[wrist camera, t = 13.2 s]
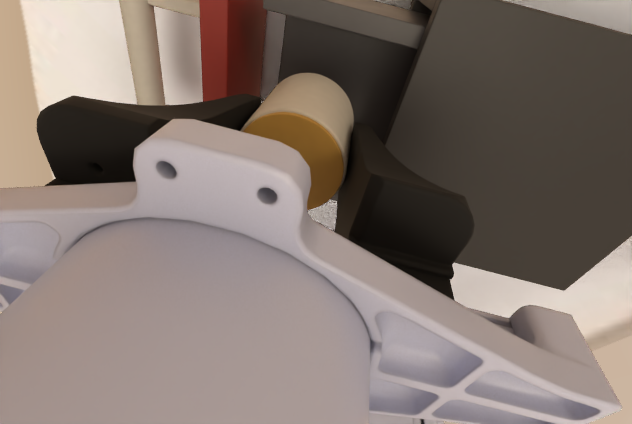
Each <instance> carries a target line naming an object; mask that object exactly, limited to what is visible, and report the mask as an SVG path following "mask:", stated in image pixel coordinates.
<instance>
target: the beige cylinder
mask: <svg viewBox="0 0 632 424" xmlns="http://www.w3.org/2000/svg"><path fill="white" fill-rule="evenodd" d="M353 123H354V115H353V109H352V105H351V103H350V100H349V98H348V97H347V95H346V93H345V92H344V91H343V89H342V88H341V87H340V86H339V85H338V84H336V83H335V82H334V81H332V80H331V79H329V78H327V77H325V76H322V75H319V74H315V73H299V74H295V75H292V76H289V77H288V78H286V79H284V80H283V81H281V82H280V83H279V84H278V85H277V86H276V87H275V88H274V90H273V91H272V92H271V93H270V94H269V96H268V97H267V98H266V99H265V100H264V102H263V103H262V104H261V105H260V106H259V108H258V109H257V110H256V111H255V112H254V114H253V115H252V116H251V117H250V119H249V120H248V121H247V122H246V123H245V125H244V126H243V127H242V129H241V132H245V133H249V134H253V135H257V136H260V137H264V138H268V139H272V140H276V141H280V142H281V143H283V144H285V145H287V146H289V147H291V148H293V149H295V150H297V151H298V152H299V153H300V154H301V156H302V157H303V159H304V160H305V161H306V163H307V164H308V165H309V167H310V175H311V187H310V192H309V196H308V200H307V210H309V209H313V208H316V207H318V206H321V205H322V204H324V203H326V202H327V201H328V200H330V199H331V198H332V197H333V196H334V195H335V194H336V193H337V192H338V191H339V189H340V188H341V186H342V184H343V182H344V180H345V176H346V172H347V165H348V158H349V150H350V142H351V135H352V130H353Z"/></svg>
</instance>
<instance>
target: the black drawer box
mask: <svg viewBox="0 0 632 424" xmlns="http://www.w3.org/2000/svg"><path fill="white" fill-rule="evenodd" d="M410 10H411V11H415V12H419V13H423V14H426V15H430V19H429V21H428V24H427V27H426V29H425V32H424V35H423V37H422V40H421V42H420V45H419V48H418V50H417V53H416V56H415V58H414V61H413V64H412V66H411V69H410V72H409V74H408V77H407V79H406V82H405V85H404V87H403V90H402V93H401V95H400V98H399V101H398V103H397V106H396V109H395V111H394V114H393V116H392V119H391V122H390V124H389V127H388V130H387V132H386V135H385V138H384V140H383V144H384V146H385V147H386V148H387V149H388V150H389V151H390V152H391V153H392V155H393V156H394V157H395V158H397V159H398V160H399V161H400V162H401V163H402V164H403V165H405V166H406V167H407V168H409V169H410V170H411V171H413V172H414V173H416V174H417V175H419V176H420V177H422V178H424V179H426V180H427V181H429V182H431V183H433V184H435V185H437V186H439V187H442V188H444V189H447V190H449V191H452V192H454V193H457V194H460V195H462V196H465V198H466V200H467V203H468V205H469V208H470V210H471V213H472V215H473V220H474V224H475V226H474V232H473V236H472V237H471V239H470V241H469V243H468V244H467V246H466V247H465V248H464V250H463V251H462V252H461V253H460V255H459V256H458V257H457V259H456V260H455V261H454V262H455V263H459V264H462V265H466V266H470V267H474V268H478V269H482V270H486V271H490V272H494V273H497V274H501V275H505V276H509V277H513V278H517V279H521V280H525V281H529V282H533V283H536V284H540V285H544V286H548V287H552V288H556V289H560V290H566V289H567V288H568V287H569V286H570V285H572V284H573V283H574V282H575V281H577V280H578V279H579V278H580V277H582V276H583V275H584V274H585V273H586V272H588V271H589V270H590V269H591V268H593V267H594V266H595V265H596V264H597V263H599V262H600V261H601V260H602V259H604V258H605V257H606V256H607V255H609V254H610V253H611V252H612V251H613V250H615V249H616V248H617V247H618V246H620V245H621V244H622V243H623V242H625V241H626V240H627V239H628V238H629V237H631V236H632V35H631V34H627V33H623V32H619V31H616V30H612V29H608V28H604V27H601V26H597V25H593V24H589V23H585V22H582V21H578V20H574V19H570V18H567V17H563V16H559V15H555V14H552V13H548V12H544V11H540V10H537V9H533V8H529V7H525V6H521V5H518V4H514V3H510V2H506V1H503V0H413V2H412V5H411V8H410Z"/></svg>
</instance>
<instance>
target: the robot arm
mask: <svg viewBox="0 0 632 424" xmlns="http://www.w3.org/2000/svg"><path fill="white" fill-rule="evenodd" d="M260 105H261V97H257V96H253V95H250V94H238V95H233V96H229V97H224V98H220V99H215V100H210V101H205V102H199V103H193V104H184V105H134V104H124V103H115V102H108V101H102V100H96V99H90V98H84V97H79V96H71V97H69V98H66V99H64V100H62V101H59V102H57V103H55V104H52V105H50V106H48V107H47V108H45V109H44V110H42V111H41V112H40V114H39V116H38V118H37V133H38V136H39V140H40V143H41V145H42V148H43V150H44V152H45V154H46V157H47V159H48V162H49V164H50V167H51V169H52V171H53V174H54V176H55V178H56V179H54V180H53V181H51V182H50V183H49V184H47V185H45V186H38V187H17V188H0V311H1V312H2V313H1V314H0V424H444V421H445V422H454V423H461V424H589V423H591V422H594V421H596V420H599V419H601V418H604V417H606V416H609V415H611V414H614V413H616V412H619V411H621V409H622V405H621V404H620V402H619V400H618V398H617V396H616V395H615V393H614V391H613V389H612V387H611V386H610V384H609V382H608V380H607V378H606V377H605V375H604V373H603V371H602V369H601V368H600V366H599V364H598V362H597V360H596V359H595V357H594V355H593V353H592V351H591V350H590V348H589V346H588V344H587V343H586V341H585V339H584V337H583V335H582V334H581V332H580V330H579V328H578V326H577V325H576V323H575V321H574V319H573V317H572V316H571V315H570V314H567V313H563V312H559V311H555V310H551V309H547V308H543V307H539V306H534V305H528V306H523V307H521V308H519V309H518V310H517V311H516V312H515V313H514V314H513V315H512V316H511V317H510V318H505V317H501V316H497V315H493V314H490V313H486V312H482V311H478V310H474V309H470V308H466V307H465V306H463V305H461V304H459V303H458V302H456V301H454V296H453V292H452V288H451V284H450V279H452V277H453V276H454V271H453V267H452V264H453V263H454V261H455V260H456V259H457V257H458V256H459V255H460V253H461V252H462V251H463V250H464V248H465V247H466V246H467V244H468V243H469V241H470V239H471V237H472V236H473V232H474V226H475V224H474V220H473V215H472V213H471V210H470V208H469V205H468V203H467V200H466V198H465V196H462V195H460V194H457V193H454V192H452V191H449V190H447V189H444V188H442V187H439V186H437V185H435V184H433V183H431V182H429V181H427V180H426V179H424V178H422V177H420V176H419V175H417V174H416V173H414V172H413V171H411V170H410V169H409V168H407V167H406V166H405V165H403V164H402V163H401V162H400V161H399V160H398V159H397V158H395V157H394V156H393V155H392V153H391V152H390V151H389V150H388V149H387V148H386V147H385V146H384V144H383V143H382V142H381V140H380V139H379V138H378V136H377V135H376V133H375V132H374V131H373V129H372V128H371V127H370V126H369V125H365V124H361V123H357V122H355V124H354V128H353V131H352V135H351V142H350V150H349V158H348V165H347V172H346V176H345V180H344V182H343V184H342V186H341V188H340V189H339V191H338V203H337V218H336V227H335V232H334V231H332V230H330V229H328V228H327V227H325V226H323V225H321V224H320V223H318V222H316V221H314V220H313V219H312V218H311V216H310V215H309V214H308V211H307V200H308V196H309V192H310V187H311V175H310V167H309V165H308V164H307V163H306V161H305V160H304V159H303V157H302V156H301V154H300V153H299V152H298V151H297V150H295V149H293V148H291V147H289V146H287V145H285V144H283V143H281V142H280V141H276V140H272V139H268V138H264V137H260V136H257V135H253V134H249V133H245V132H241V129H242V127H243V126H244V125H245V123H246V122H247V121H248V120H249V119H250V117H251V116H252V115H253V114H254V112H255V111H256V110H257V109H258V108H259V106H260Z"/></svg>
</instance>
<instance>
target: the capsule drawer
mask: <svg viewBox="0 0 632 424" xmlns="http://www.w3.org/2000/svg"><path fill="white" fill-rule="evenodd" d="M119 2H120V8H121V13H122V19H123V25H124V30H125V36H126V41H127V47H128V53H129V58H130V64H131V69H132V75H133V81H134V86H135V92H136V97H137V103H138V105H165V97H164V89H163V80H162V72H161V64H160V55H159V47H158V39H157V30H156V22H155V13H154V6H156V7H160V8H164V9H168V10H172V11H175V12H179V13H183V14H187V15H191V16H194V17H198V18H200V34H201V61H202V87H203V102H205V101H210V100H215V99H220V98H224V97H229V96H233V95H238V94H250V95H253V96H257V97H260V87H261V75H262V63H263V51H264V39H265V27H266V14H267V10H269V11H273V12H277V13H281V14H285V15H286V21H285V30H284V38H283V47H282V55H281V64H280V72H279V81H278V84H279V83H280V82H281V81H283V80H284V79H286V78H288V77H289V76H292V75H295V74H299V73H315V74H319V75H322V76H325V77H327V78H329V79H331V80H332V81H334V82H335V83H336V84H338V85H339V86H340V87H341V88H342V89H343V91H344V92H345V93H346V95H347V97H348V98H349V100H350V103H351V105H352V109H353V115H354V123H353V128H354V124H355V122H357V123H361V124H365V125H369V126H370V127H371V128H372V129H373V131H374V132H375V133H376V135H377V136H378V138H379V139H380V140H381V142H382V143H383V140H384V138H385V135H386V132H387V130H388V127H389V124H390V122H391V119H392V116H393V114H394V111H395V109H396V106H397V103H398V101H399V98H400V95H401V93H402V90H403V87H404V85H405V82H406V79H407V77H408V74H409V72H410V69H411V66H412V64H413V61H414V58H415V56H416V53H417V50H418V48H419V45H420V42H421V40H422V37H423V35H424V32H425V29H426V27H427V24H428V21H429V19H430V15H426V14H423V13H419V12H415V11H411V10H407V9H404V8H400V7H396V6H392V5H389V4H385V3H381V2H377V1H373V0H119ZM352 131H353V130H352ZM331 200H335V201H338V192H337V193H336V194H335V195H334V196H333V197H332V198H331Z"/></svg>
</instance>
